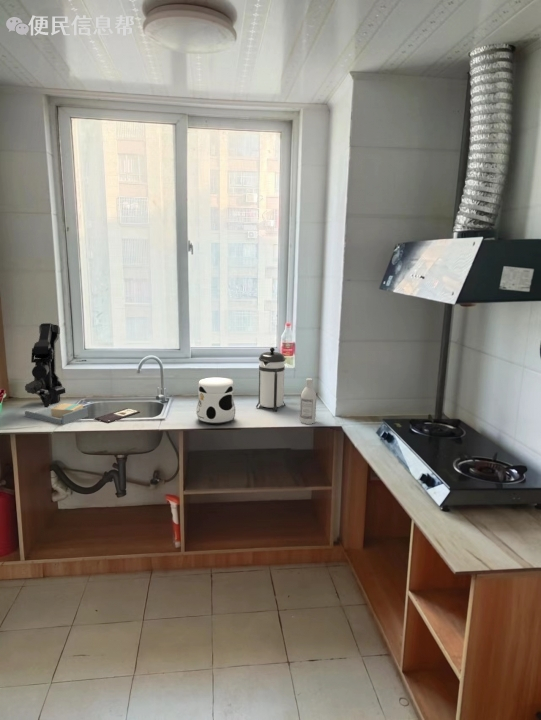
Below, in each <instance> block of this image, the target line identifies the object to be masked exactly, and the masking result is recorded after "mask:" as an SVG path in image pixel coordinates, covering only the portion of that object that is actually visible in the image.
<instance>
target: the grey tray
mask: <svg viewBox="0 0 541 720" xmlns="http://www.w3.org/2000/svg"><path fill="white" fill-rule="evenodd" d="M52 408H53V407H51V408H50V407H47V408H45V409H42V410H39V411H36V412H33V411H27V410H25V411H24V417H28V418H33V419H35V420H40V421H41V420H42V421H45V422H50V423H55V424H59V425H62V426H65V425H67V424H71V423H74V422H77V421H79V420H81V419H84V418H87V417H89V411H88V410H89V407H87V406H85V407H83V408H82V409H79V410H76V411H73V412H70V413H67V414H64V415H62V419H61V418H56V417H52V416H51V409H52Z"/></svg>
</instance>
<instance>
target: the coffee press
mask: <svg viewBox="0 0 541 720" xmlns="http://www.w3.org/2000/svg"><path fill="white" fill-rule="evenodd" d="M275 350H276V349H275V348H274V347H271V348H269V351H266V352H263V353H261V354H260V356H259V357H258V360H259V365H258V369H259V370H258V402H257V405H256V406H255V408H256V409H257V408H258V407H259V409H260V408H262V407H264V408H271V409H272V410H273V412H274V411H275V412H278V408H279V407H281V406H285V407H286V403H285V401H284V392H285V391H284V390H285V389H284V388H285V386H284V385H285V369H286V367H285V362H286V358H285V356H284V354H283V353H281V352H277V351H275Z"/></svg>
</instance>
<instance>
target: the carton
mask: <svg viewBox="0 0 541 720" xmlns="http://www.w3.org/2000/svg"><path fill="white" fill-rule="evenodd" d="M51 408H52V409H51V416H52V417H56V418H61V419H62V415H64V414H67V413H70V412H73V411H76V410H79V409H82V408H84V404H79V403H64V402H63V403H62V402H61V403H60V404H59V403H58V404H57V405H56V406H54V407H51Z"/></svg>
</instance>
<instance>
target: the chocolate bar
mask: <svg viewBox="0 0 541 720" xmlns="http://www.w3.org/2000/svg"><path fill="white" fill-rule="evenodd" d="M140 413H141V411H140V410H139V411H138V410H135V409H131V408H126V407H125V408H123V409H119V410H117V411H113V412H110V413H107V414H104V415H101V416H98V417H95V418H94V420H95V421H99V420H101V421H100V422H103V423H106V424H111V423H114V422H116V421H115V420H117V421H120V420H122V419H126V418H129V417H131V416H134V415H138V414H140ZM108 420H110V421H108Z"/></svg>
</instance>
